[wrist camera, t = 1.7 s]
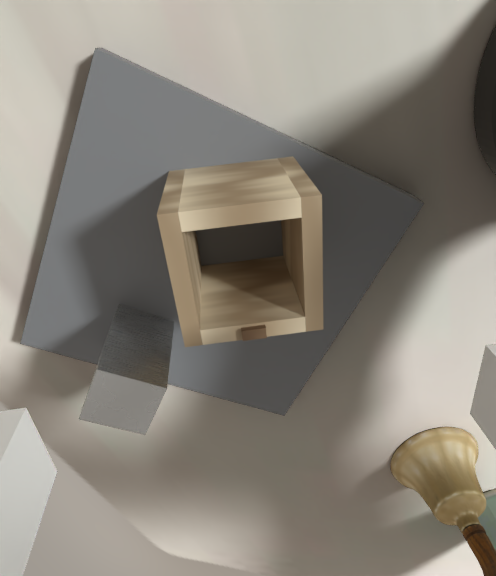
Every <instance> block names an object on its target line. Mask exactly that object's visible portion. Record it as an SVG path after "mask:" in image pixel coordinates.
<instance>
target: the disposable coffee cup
mask: <svg viewBox="0 0 496 576" xmlns="http://www.w3.org/2000/svg"><path fill="white" fill-rule="evenodd" d="M483 494H484V496H485V498H486V508H485V510H484V512H483V513H482V514H481V515H480V516H479V517H478V520H479V522H480V524H481V526H483V528H484V529H485V531H486V534H487V536H488V537H489V539H490V541H491V543H492V545H493V547H494V548H495V550H496V489H494V490H491V491H488V492H485V493H483Z"/></svg>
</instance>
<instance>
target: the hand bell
mask: <svg viewBox="0 0 496 576" xmlns="http://www.w3.org/2000/svg"><path fill="white" fill-rule="evenodd" d="M477 458H478V444H477V441H476V440H475V438H474V437H473V436H472V435H471V434H470V433H468V432H466V431H464V430H462V429H459V428H454V427H440V428H434V429H430V430H426V431H423V432H420V433H418V434H416V435H414V436H413V437H411V438H409V439H408V440H406V441H405V442H404V443H403V444H402V445H401V446H400V447H399V448H398V449H397V450H396V452H395V453H394V455H393V457H392V460H391V472H392V474H393V476H394V477H395V479H396V480H397V481H399V482H400V483H401V484H402V485H404V486H406V487H408V488H411V489H414V490H415V491H417V492H418V493H419V494H420V495H421V497H422V498H423V499H424V500H425V502H426V503H427V505H428V506H429V508H430V509H431V511H432V512H433V514H434V516H435V517H436V519H437V520H439V521H440V522H442V523H444V524H446V525H457V526H458V527H459V529H460V531H461V532H462V533H463V536H464V538H465V539H466V541H468V544H469V546H470V548H471V549H472V551H473V553H474V555H475V556H476V558H477V560H478V562H479V564H480V566H481V568H482V570H483V574H484V576H496V550H495V548H494V547H493V545H492V543H491V541H490V539H489V537H488V536H487V534H486V531H485V529H484V528H483V526H481V524H480V522H479V520H478V517H479V516H480V515H481V514H482V513H483V512H484V510H485V508H486V498H485V496H484V494H483V492H482V489H481V487H480V485H479V482H478V480H477V476H476V473H475V464H476V461H477Z"/></svg>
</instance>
